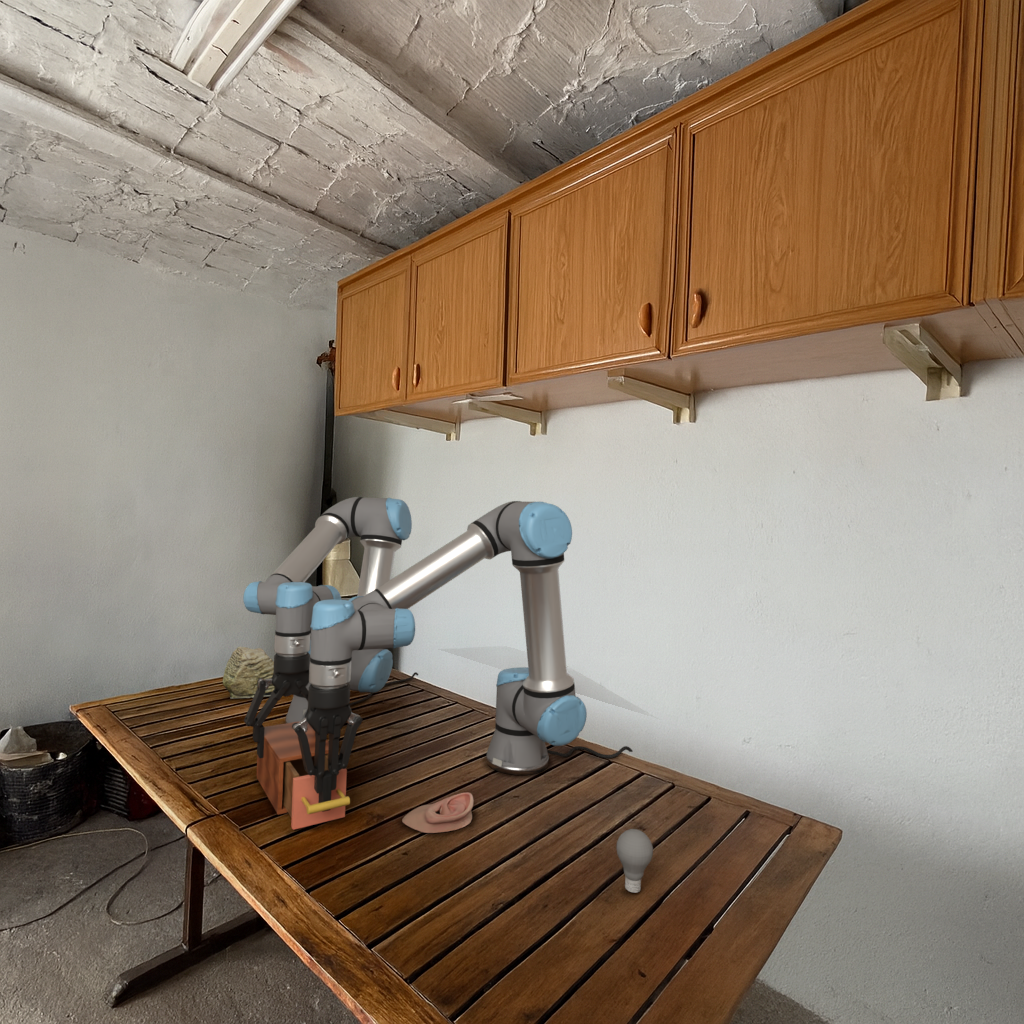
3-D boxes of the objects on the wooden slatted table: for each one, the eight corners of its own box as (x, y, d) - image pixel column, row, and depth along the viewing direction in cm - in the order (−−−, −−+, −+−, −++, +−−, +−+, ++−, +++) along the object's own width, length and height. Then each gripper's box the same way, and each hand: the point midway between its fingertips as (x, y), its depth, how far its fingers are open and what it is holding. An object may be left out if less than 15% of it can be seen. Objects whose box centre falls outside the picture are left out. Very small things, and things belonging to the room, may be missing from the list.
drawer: (354, 829, 120) (356, 780, 119) (301, 844, 114) (303, 792, 114) (317, 781, 139) (319, 738, 139) (270, 791, 133) (271, 746, 133)
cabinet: (333, 801, 132) (335, 748, 132) (277, 814, 126) (279, 758, 125) (307, 767, 148) (309, 719, 147) (256, 777, 141) (258, 727, 141)
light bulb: (610, 879, 108) (613, 822, 108) (644, 879, 109) (647, 822, 109) (619, 902, 102) (622, 840, 102) (655, 901, 103) (658, 840, 103)
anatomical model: (396, 808, 122) (417, 782, 133) (395, 828, 122) (416, 801, 133) (463, 818, 119) (478, 791, 130) (462, 839, 119) (477, 810, 131)
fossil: (218, 695, 195) (220, 647, 195) (278, 685, 208) (279, 640, 207) (228, 703, 189) (230, 653, 188) (289, 692, 201) (290, 645, 201)
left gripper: (238, 662, 131) (234, 767, 131) (349, 651, 144) (345, 747, 144) (231, 654, 137) (227, 754, 137) (338, 644, 150) (335, 736, 150)
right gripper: (299, 693, 112) (294, 825, 112) (370, 684, 119) (364, 808, 120) (288, 682, 118) (283, 806, 119) (356, 674, 125) (351, 792, 126)
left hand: (288, 750), depth 141 cm, fingers closed on cabinet, 11 cm apart
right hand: (324, 807), depth 119 cm, fingers closed
